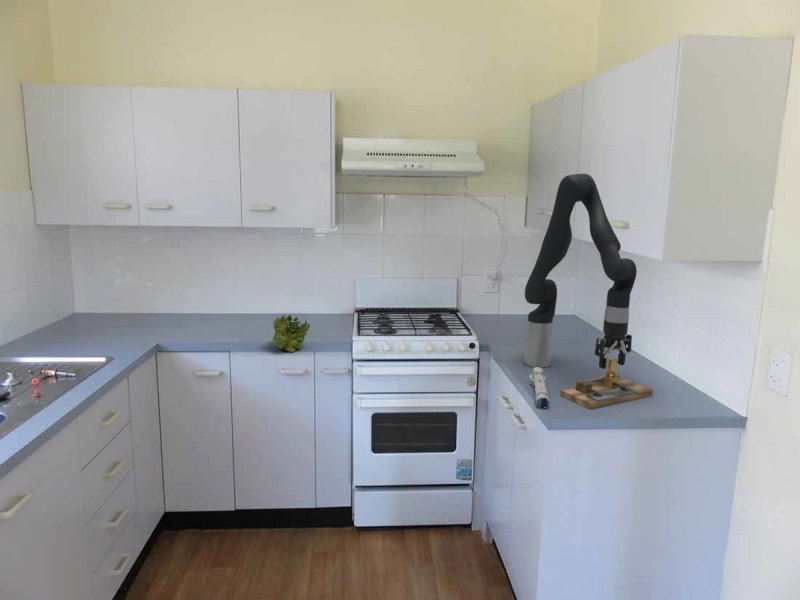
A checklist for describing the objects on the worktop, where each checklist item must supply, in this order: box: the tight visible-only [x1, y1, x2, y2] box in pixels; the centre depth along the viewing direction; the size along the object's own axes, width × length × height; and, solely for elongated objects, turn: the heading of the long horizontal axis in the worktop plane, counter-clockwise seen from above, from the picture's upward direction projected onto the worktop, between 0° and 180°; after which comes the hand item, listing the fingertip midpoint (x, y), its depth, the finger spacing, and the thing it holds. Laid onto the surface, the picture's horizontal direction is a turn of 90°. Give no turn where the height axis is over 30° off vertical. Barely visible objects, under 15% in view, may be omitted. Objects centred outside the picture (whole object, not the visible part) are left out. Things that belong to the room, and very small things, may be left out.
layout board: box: [560, 373, 654, 410], centre depth 186 cm, size 13×28×4 cm, turn 117°
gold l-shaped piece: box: [602, 357, 626, 389], centre depth 188 cm, size 8×3×9 cm, turn 27°
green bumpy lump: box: [272, 314, 311, 353], centre depth 235 cm, size 18×16×16 cm
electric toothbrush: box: [529, 367, 550, 409], centre depth 187 cm, size 5×7×25 cm
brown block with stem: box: [575, 379, 599, 394], centre depth 183 cm, size 8×3×3 cm, turn 27°
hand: (611, 366), depth 189 cm, fingers open, 8 cm apart
